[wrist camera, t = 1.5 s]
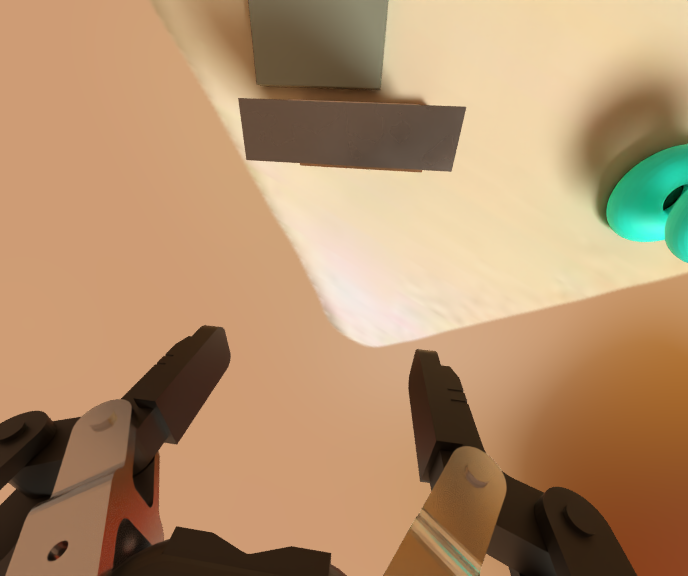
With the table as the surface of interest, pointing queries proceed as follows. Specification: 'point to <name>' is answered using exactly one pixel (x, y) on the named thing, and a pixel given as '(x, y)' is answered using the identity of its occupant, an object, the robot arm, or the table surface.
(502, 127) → the table surface
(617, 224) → the donuts
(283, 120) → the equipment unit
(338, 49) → the mat
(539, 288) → the table surface
